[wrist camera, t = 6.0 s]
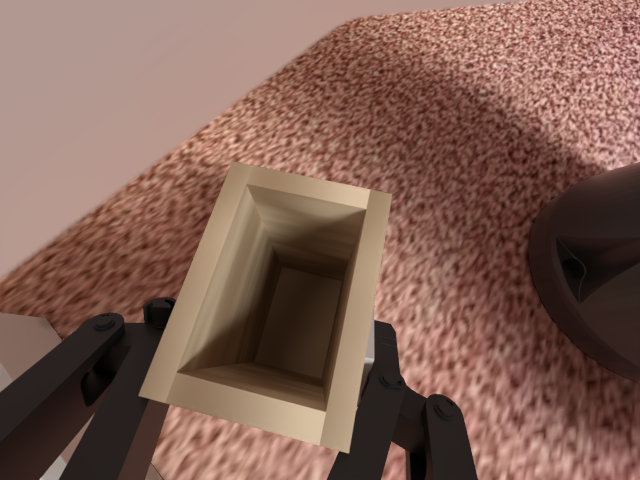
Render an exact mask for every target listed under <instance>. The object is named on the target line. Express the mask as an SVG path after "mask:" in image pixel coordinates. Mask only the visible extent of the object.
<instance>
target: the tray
mask: <svg viewBox="0 0 640 480" xmlns="http://www.w3.org/2000/svg"><path fill="white" fill-rule="evenodd" d="M61 342H62V340H61V338H60V337H59V336H58V334H57V333H56V332H55V330H54V329H53V327H52V326H51V325H50V323H49V322H48V321H47V319H46V318H40V317H32V316H24V315H16V314H8V313H0V392H1V391H2V390H3V389H5V388H6V387H7V386H8V385H9V384H11V383H12V382H13V381H14V380H16V379H17V378H18V377H19V376H21V375H22V374H23V373H24V372H25V371H27V370H28V369H29V368H30V367H32V366H33V365H34V364H35V363H36V362H38V361H39V360H40V359H41V358H43V357H44V356H45V355H46V354H47V353H49V352H50V351H51V350H52V349H54V348H55V347H56V346H57V345H59V344H60V343H61ZM93 416H94V415H93ZM93 416H92V417H91V418H90V420H89V421H88V422H87V423H86V424H85V426H84V427H83V428H82V429H81V430H80V432H79V433H78V434H77V435H76V436H75V438H74V439H73V440H72V441H71V442H70V444H69V445H68V446H67V447H66V448H65V450H64V451H63V452H62V453H61V454H60V456H59V457H58V458H57V459H56V460H55V462H54V463H53V464H52V465H51V466H50V468H49V469H48V470H47V471H46V472H45V474H44V475H43V476H42V477H41V478H40V480H59V478H60V476H61V474H62V472H63V471H64V469H65V467H66V465H67V463H68V461H69V460H70V458H71V456H72V454H73V452H74V451H75V449H76V447H77V445H78V443H79V441H80V440H81V438H82V436H83V434H84V432H85V431H86V429H87V427H88V425H89V423H90V421H91V420H92V418H93ZM145 480H163V479H162V478H161V476H160V475H159V474H158V472H157V471H156V469H155V468H154V467H153V465H152V464H151V463H150V466H149V469H148V472H147V475H146V479H145Z"/></svg>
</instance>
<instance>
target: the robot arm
mask: <svg viewBox="0 0 640 480" xmlns="http://www.w3.org/2000/svg"><path fill="white" fill-rule="evenodd" d="M529 263H530V269H531V274H532V277H533V281H534V284H535V286H536V289H537V291H538V294H539V296H540V298H541V300H542V302H543V304H544V306H545V307H546V309H547V311H548V312H549V314H550V315H551V317H552V318H553V320H554V321H555V322H556V324H557V325H558V326H559V327H560V329H561V330H562V331H563V332H564V333H565V334H566V335H567V337H568V338H569V339H570V340H571V341H572V342H573V343H574V344H576V345H577V346H578V347H579V348H580V349H581V350H582V351H583V352H585V353H586V354H587V355H588V356H590V357H591V358H592V359H594V360H595V361H597V362H598V363H600V364H601V365H603V366H604V367H606V368H608V369H609V370H611V371H613V372H615V373H617V374H619V375H621V376H623V377H625V378H628V379H630V380H632V381H635V382H638V383H640V162H639V163H636V164H632V165H628V166H625V167H621V168H618V169H614V170H611V171H607V172H603V173H600V174H597V175H594V176H591V177H589V178H586V179H584V180H582V181H580V182H578V183H576V184H575V185H573V186H572V187H570V188H569V189H567V190H566V191H564V192H563V193H561V194H559V195H558V196H556V197H555V198H553V199H552V200H551V201H550V202H549V203H548V204H547V205H546V206H545V207H544V208H543V209H542V210H541V212H540V213H539V214H538V216H537V218H536V220H535V222H534V224H533V227H532V230H531V234H530V238H529ZM176 301H177V300H175V299H173V298H168V297H163V298H156V299H153V300H151V301H149V302H147V303H146V304H145V305H144V306H143V311H144V321H145V323H124V318H123V317H122V315H120V314H117V313H104V314H100V315H97V316H94V317H93V318H91V319H90V320H88V321H87V322H85V323H84V324H83V325H82V326H81V327H79V328H78V329H77V330H76V331H74V332H73V333H72V334H71V335H70V336H68V337H67V338H66V339H65V340H63V341H62V342H61V343H60V344H59V345H57V346H56V347H55V348H54V349H52V350H51V351H50V352H49V353H47V354H46V355H45V356H44V357H43V358H41V359H40V360H39V361H38V362H36V363H35V364H34V365H33V366H32V367H30V368H29V369H28V370H27V371H25V372H24V373H23V374H22V375H21V376H19V377H18V378H17V379H16V380H14V381H13V382H12V383H11V384H9V385H8V386H7V387H6V388H5V389H3V390H2V391H1V392H0V480H40V478H41V477H42V476H43V475H44V474H45V472H46V471H47V470H48V469H49V468H50V466H51V465H52V464H53V463H54V462H55V460H56V459H57V458H58V457H59V456H60V454H61V453H62V452H63V451H64V450H65V448H66V447H67V446H68V445H69V444H70V442H71V441H72V440H73V439H74V438H75V436H76V435H77V434H78V433H79V432H80V430H81V429H82V428H83V427H84V426H85V424H86V423H87V422H88V421H89V420H90V418H91V417H92V416H93V415H94V416H93V418H92V420H91V421H90V423H89V425H88V427H87V429H86V431H85V432H84V434H83V436H82V438H81V440H80V441H79V443H78V445H77V447H76V449H75V451H74V452H73V454H72V456H71V458H70V460H69V461H68V463H67V465H66V467H65V469H64V471H63V472H62V474H61V476H60V478H59V480H145V479H146V475H147V472H148V469H149V466H150V463H151V460H152V457H153V454H154V451H155V448H156V445H157V442H158V439H159V436H160V433H161V429H162V426H163V423H164V420H165V417H166V414H167V411H168V408H169V405H170V404H166V403H163V402H159V401H155V400H152V399H148V398H144V397H141V396H138V395H139V393H140V390H141V388H142V385H143V383H144V380H145V378H146V375H147V373H148V370H149V368H150V365H151V363H152V360H153V358H154V355H155V353H156V350H157V348H158V345H159V343H160V340H161V338H162V335H163V333H164V330H165V328H166V326H167V323H168V321H169V318H170V316H171V313H172V311H173V308H174V306H175V303H176ZM360 401H361V402H360ZM357 407H358V409H357V411H356V414H355V420H354V426H353V432H352V438H351V444H350V450H349V453H345V452H341V451H339V453H338V455H337V457H336V460H335V462H334V464H333V467H332V469H331V471H330V474H329V476H328V478H327V480H381V477H382V473H383V469H384V466H385V462H386V459H387V455H388V451H389V448H390V444H391V441H392V442H394V443H395V444H397V445H399V446H400V447H402V448H403V449H405V452H406V480H478V478H477V474H476V469H475V465H474V461H473V456H472V452H471V448H470V443H469V439H468V435H467V430H466V426H465V422H464V417H463V414H462V412H461V410H460V408H459V407H458V406H457V405H456V403H455V402H453V401H452V400H451V399H449V398H448V397H446V396H443V395H440V394H433V395H430V396H429V397H428V398H425V397H424V396H422V395H420V394H418V393H416V392H415V391H413V390H411V389H410V388H409V387H408V386H407V385H406V383H405V381H404V378H403V377H402V376H401V375H400V368H399V359H398V349H397V342H396V332H395V330H394V329H393V327H392V325H391V324H389V323H384V322H380V321H376V320H374V307H373V313H372V319H371V325H370V331H369V337H368V343H367V349H366V355H365V361H364V367H363V373H362V379H361V385H360V391H359V396H358V402H357Z"/></svg>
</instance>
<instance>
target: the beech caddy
mask: <svg viewBox="0 0 640 480" xmlns="http://www.w3.org/2000/svg"><path fill="white" fill-rule="evenodd" d="M391 200H392V194H390V193H385V192H380V191H375V190H370V189H365V188H360V187H356V186H351V185H346V184H341V183H336V182H331V181H326V180H321V179H317V178H312V177H307V176H302V175H297V174H292V173H287V172H282V171H278V170H273V169H268V168H263V167H258V166H253V165H248V164H243V163H239V162H234V161H232V164H231V166H230V169H229V171H228V174H227V176H226V179H225V181H224V184H223V186H222V189H221V191H220V194H219V196H218V199H217V201H216V204H215V206H214V209H213V211H212V214H211V216H210V219H209V221H208V224H207V226H206V228H205V231H204V233H203V236H202V238H201V241H200V243H199V246H198V248H197V251H196V253H195V256H194V258H193V261H192V263H191V266H190V268H189V271H188V273H187V276H186V278H185V281H184V283H183V286H182V288H181V291H180V293H179V296H178V298H177V301H176V303H175V306H174V308H173V311H172V313H171V316H170V318H169V321H168V323H167V326H166V328H165V330H164V333H163V335H162V338H161V340H160V343H159V345H158V348H157V350H156V353H155V355H154V358H153V360H152V363H151V365H150V368H149V370H148V373H147V375H146V378H145V380H144V383H143V385H142V388H141V390H140V393H139V395H138V396H141V397H144V398H148V399H152V400H155V401H159V402H163V403H166V404H170V405H174V406H177V407H181V408H185V409H188V410H192V411H196V412H199V413H203V414H206V415H210V416H214V417H217V418H221V419H225V420H228V421H232V422H236V423H239V424H243V425H247V426H250V427H254V428H257V429H261V430H265V431H268V432H272V433H276V434H279V435H283V436H287V437H290V438H294V439H298V440H301V441H305V442H308V443H312V444H316V445H319V446H323V447H327V448H330V449H334V450H338V451H341V452H345V453H349V450H350V444H351V438H352V432H353V426H354V420H355V414H356V408H357V402H358V396H359V391H360V385H361V379H362V373H363V367H364V361H365V355H366V349H367V343H368V337H369V331H370V325H371V319H372V313H373V307H374V301H375V295H376V289H377V283H378V277H379V271H380V265H381V260H382V254H383V248H384V242H385V236H386V230H387V224H388V218H389V212H390V206H391Z"/></svg>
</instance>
